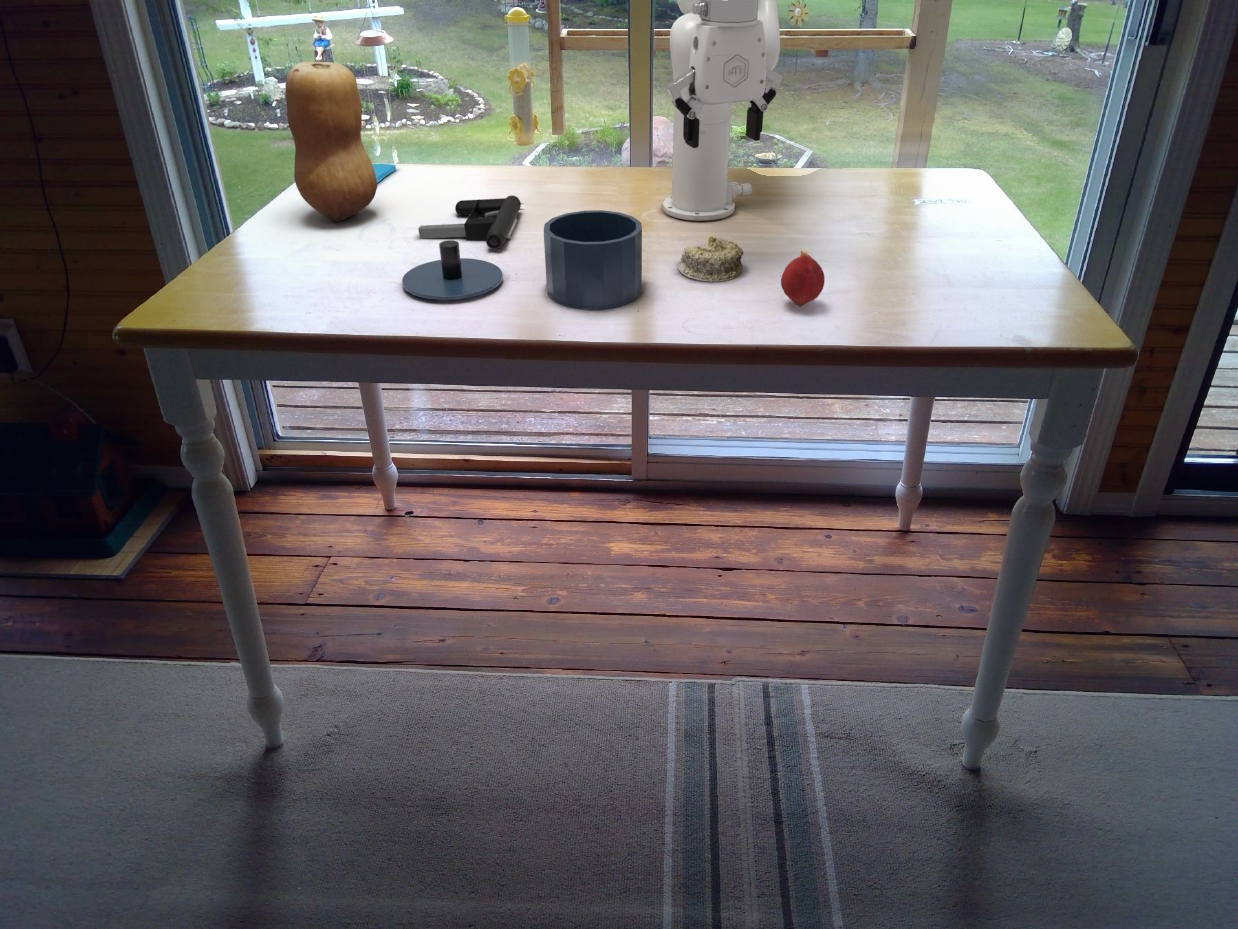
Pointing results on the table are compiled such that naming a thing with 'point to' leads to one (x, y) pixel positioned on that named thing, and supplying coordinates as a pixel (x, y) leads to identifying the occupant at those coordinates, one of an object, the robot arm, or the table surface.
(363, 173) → the butternut squash
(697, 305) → the table surface
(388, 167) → the sponge
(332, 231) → the table surface
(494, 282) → the pot lid
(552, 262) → the pot
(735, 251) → the cake
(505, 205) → the door handle
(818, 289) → the onion
